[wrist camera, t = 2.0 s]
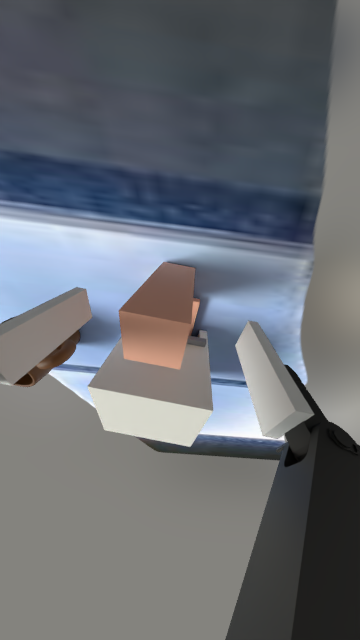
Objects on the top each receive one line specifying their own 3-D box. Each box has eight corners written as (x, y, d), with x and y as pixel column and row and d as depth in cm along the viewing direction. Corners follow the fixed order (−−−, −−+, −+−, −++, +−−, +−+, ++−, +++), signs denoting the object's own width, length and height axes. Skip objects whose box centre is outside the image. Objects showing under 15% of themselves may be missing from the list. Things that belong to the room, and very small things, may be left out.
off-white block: (134, 312, 23) (85, 381, 13) (208, 326, 23) (215, 406, 13) (136, 360, 29) (104, 430, 20) (193, 371, 29) (190, 446, 20)
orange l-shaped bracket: (151, 259, 18) (91, 305, 8) (207, 270, 18) (218, 329, 8) (147, 357, 28) (120, 430, 18) (182, 364, 28) (173, 441, 18)
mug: (87, 304, 23) (29, 345, 15) (109, 339, 27) (73, 386, 19) (31, 314, 25) (-43, 353, 18) (59, 345, 29) (9, 388, 22)
